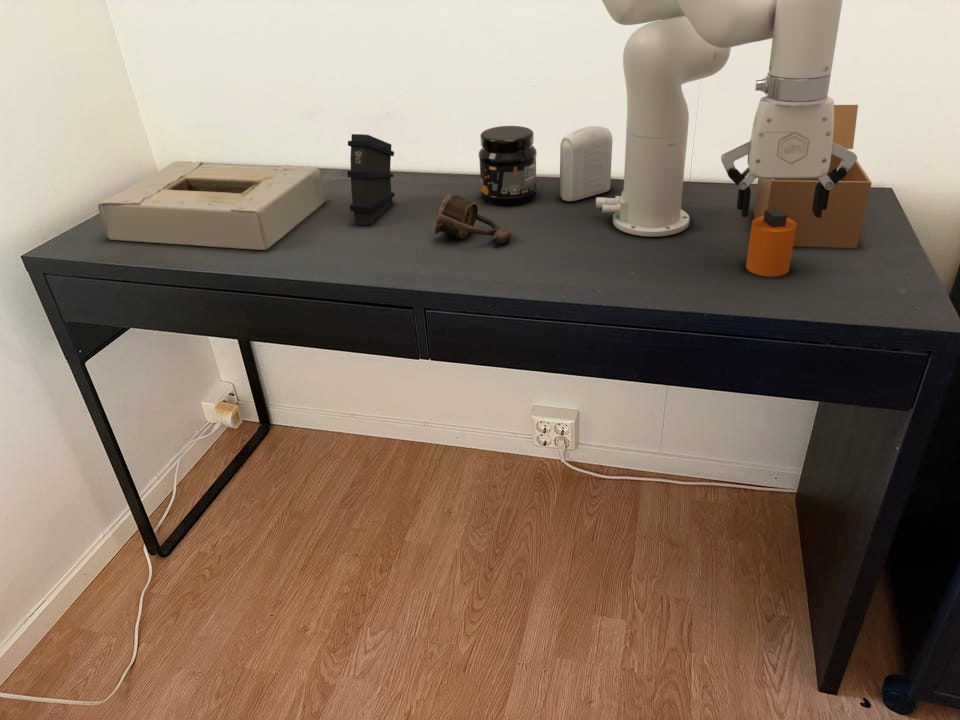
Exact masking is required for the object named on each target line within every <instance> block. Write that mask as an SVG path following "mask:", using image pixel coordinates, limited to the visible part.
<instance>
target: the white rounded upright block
mask: <svg viewBox="0 0 960 720" xmlns="http://www.w3.org/2000/svg"><path fill="white" fill-rule="evenodd" d="M559 146H560V147H559V148H560V149H559V196H560V198H561V200H563V201H565V202H575V201H579V200H582V199H587V198H591V197H594V196H597V195H601V194H603V193H606V192H609V191H610V190H611V182H612V181H611V180H612V179H611V178H612V177H611V176H612V161H613V160H612V159H613V158H612V156H613V134H612V132H611V130H610V129H609V128H607V127H604V126H600V125H589V126H584V127H581V128H578V129H575V130H573V131H572V132H570V133H567V134H566V135H565V136H564V137H563V138H562V139H561V141H560V144H559Z"/></svg>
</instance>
